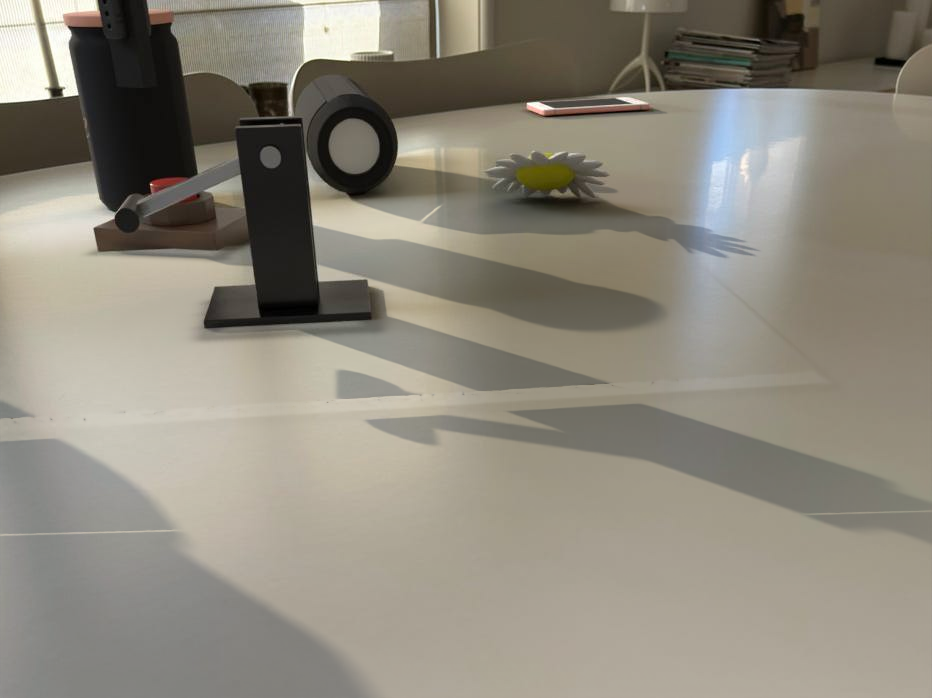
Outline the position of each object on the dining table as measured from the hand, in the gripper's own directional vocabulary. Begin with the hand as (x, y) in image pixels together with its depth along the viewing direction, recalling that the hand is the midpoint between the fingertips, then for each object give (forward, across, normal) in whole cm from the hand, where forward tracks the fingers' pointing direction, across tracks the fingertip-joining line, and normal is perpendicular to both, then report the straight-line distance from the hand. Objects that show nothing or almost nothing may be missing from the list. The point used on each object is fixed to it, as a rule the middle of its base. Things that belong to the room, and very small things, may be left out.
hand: (137, 86), depth 83 cm
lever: (+6, -8, -13) cm, 16 cm away
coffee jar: (+15, +22, +21) cm, 33 cm away
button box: (+14, +10, +6) cm, 18 cm away
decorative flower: (+15, +44, -15) cm, 49 cm away
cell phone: (+14, +106, +3) cm, 107 cm away
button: (+11, +10, +7) cm, 16 cm away
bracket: (+14, -6, -16) cm, 23 cm away
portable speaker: (+15, +43, +9) cm, 46 cm away
